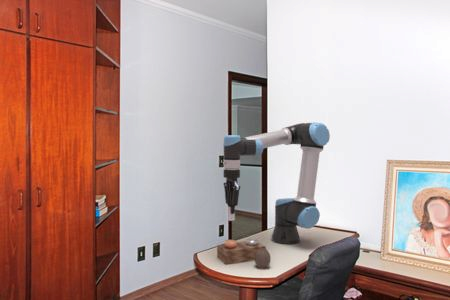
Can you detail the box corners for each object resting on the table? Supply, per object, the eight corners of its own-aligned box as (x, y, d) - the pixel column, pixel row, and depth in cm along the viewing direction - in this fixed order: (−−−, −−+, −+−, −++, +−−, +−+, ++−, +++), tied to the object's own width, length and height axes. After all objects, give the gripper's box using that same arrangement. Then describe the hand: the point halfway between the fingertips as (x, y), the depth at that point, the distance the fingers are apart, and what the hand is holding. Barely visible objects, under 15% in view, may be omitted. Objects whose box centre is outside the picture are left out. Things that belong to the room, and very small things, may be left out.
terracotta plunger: (233, 252, 171) (233, 239, 171) (238, 256, 166) (238, 242, 165) (222, 254, 169) (222, 240, 168) (227, 258, 163) (227, 243, 163)
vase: (271, 269, 156) (272, 249, 156) (256, 269, 155) (256, 249, 155) (268, 263, 163) (269, 244, 162) (253, 264, 162) (253, 244, 162)
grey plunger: (253, 251, 175) (254, 237, 175) (259, 254, 170) (259, 241, 170) (243, 252, 173) (243, 239, 173) (249, 256, 168) (249, 242, 168)
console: (254, 252, 178) (254, 240, 178) (265, 258, 169) (265, 246, 169) (217, 257, 170) (217, 245, 170) (226, 264, 161) (226, 251, 161)
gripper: (218, 168, 170) (218, 217, 171) (230, 170, 158) (230, 224, 159) (232, 167, 173) (232, 216, 174) (245, 170, 161) (245, 222, 162)
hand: (231, 220), depth 167 cm, fingers closed
